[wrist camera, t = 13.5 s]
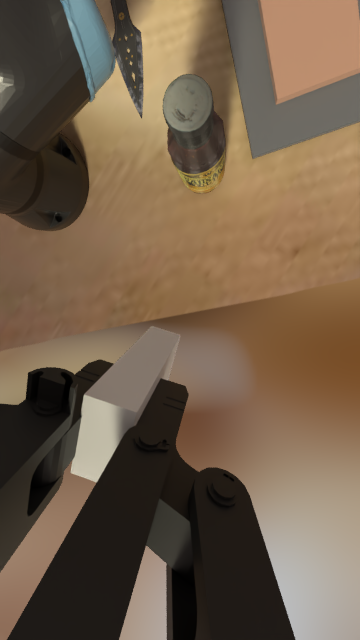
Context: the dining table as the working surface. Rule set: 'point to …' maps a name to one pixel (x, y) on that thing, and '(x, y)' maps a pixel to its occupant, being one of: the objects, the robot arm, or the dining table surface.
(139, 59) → the throwing knife
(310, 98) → the rubber mat
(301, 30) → the terracotta tile
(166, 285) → the dining table surface
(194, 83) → the sauce bottle
